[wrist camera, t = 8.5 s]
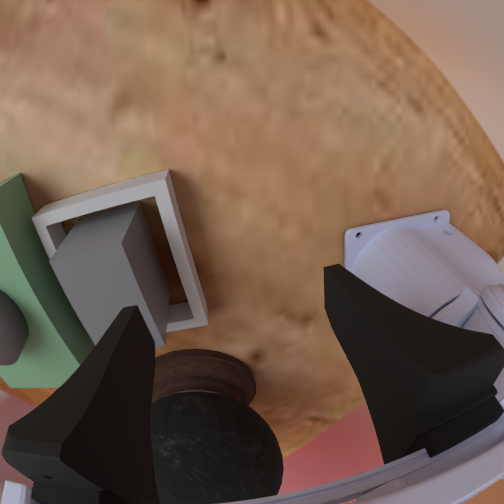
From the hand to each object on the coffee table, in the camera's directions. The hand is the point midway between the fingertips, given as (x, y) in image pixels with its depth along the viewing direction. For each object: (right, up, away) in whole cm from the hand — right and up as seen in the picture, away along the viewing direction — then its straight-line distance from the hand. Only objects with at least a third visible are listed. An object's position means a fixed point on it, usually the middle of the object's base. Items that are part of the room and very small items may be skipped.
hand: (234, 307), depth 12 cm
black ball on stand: (-5, -11, +17) cm, 20 cm away
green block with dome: (-13, 0, +9) cm, 16 cm away
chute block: (-8, +2, +9) cm, 12 cm away
